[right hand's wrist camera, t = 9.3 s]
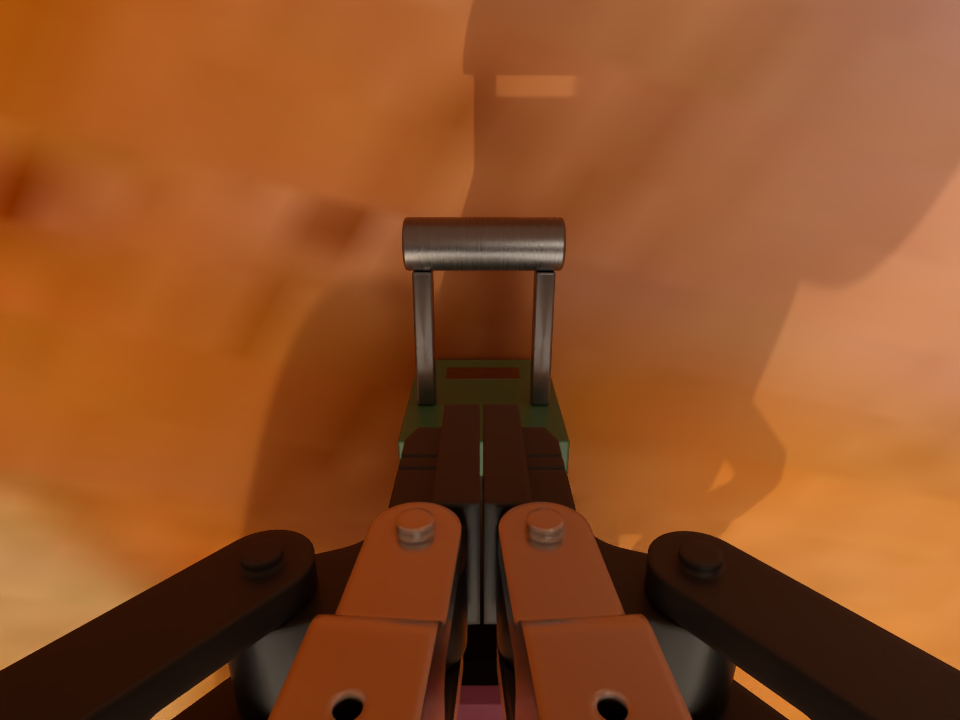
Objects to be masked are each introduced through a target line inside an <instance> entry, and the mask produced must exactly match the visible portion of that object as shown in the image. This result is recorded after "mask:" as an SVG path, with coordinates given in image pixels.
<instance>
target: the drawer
mask: <svg viewBox="0 0 960 720" xmlns="http://www.w3.org/2000/svg"><path fill="white" fill-rule="evenodd" d="M565 250H566V230H565V223H564V220H563V218H523V217H407V218H405V219H404V222H403V229H402V251H403V262H404V266H405V269H406V270H408V271H413V273H412V282H413V307H414V332H415V357H416V374H415V378H414V382H413V386H412V390H411V394H410V397H409V401H408V405H407V409H406V413H405V417H404V421H403V424H402V428H401V432H400V436H399V440H398V450H399V463H400V459H401V457H402V450H403V446H404V442H405V440H406V439H407V438H408V437H409V436H410V435H411V434H412V433H413V432H414V431H415V430H416V429H417V428H418V427H442V421H443V413H444V405H445V404H480V624H468V626H467V645H466V649H465V652H464V654H463V674H462V682H461V685H499V682H498V674H497V624H484V565H483V404H518V405H519V411H520V419H521V426H522V427H545V428H546V429H547V430H548V431H549V432H550V433H551V434H552V435H554V436H555V437H556V438H557V439H558V441H559V445H560V449H561V453H562V457H563V461H564V465H565V470H566V473H567V474H568V458H569V438H568V435H567V431H566V428H565V424H564V421H563V417H562V414H561V411H560V407H559V404H558V400H557V397H556V393H555V390H554V386H553V383H552V379H551V356H552V334H553V313H554V292H555V272H554V271H560V270H562V268H563V265H564V260H565ZM433 271H534V287H533V316H532V346H531V360H436V355H435V318H434V281H433Z"/></svg>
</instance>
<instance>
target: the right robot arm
mask: <svg viewBox="0 0 960 720" xmlns="http://www.w3.org/2000/svg"><path fill="white" fill-rule="evenodd" d="M483 565H484V624H497V674H498V682H499V691H500V699H501V707H502V716H503V720H789V719H787V718H786V717H784V716H783V715H782V714H780V713H779V712H778V711H776V710H775V709H773V708H772V707H771V706H769V705H768V704H767V703H765V702H764V701H762V700H761V699H760V698H758V697H757V696H756V695H754V694H753V693H751V692H750V691H749V690H747V689H746V688H745V687H743V686H742V685H740V684H739V683H738V682H736V681H735V680H734V679H733V678H734V673H735V668H736V666H738V667H739V668H741V669H742V670H743V671H745V672H746V673H748V674H749V675H750V676H752V677H753V678H755V679H756V680H758V681H759V682H760V683H762V684H763V685H765V686H766V687H767V688H769V689H770V690H772V691H773V692H775V693H776V694H777V695H779V696H780V697H782V698H783V699H784V700H786V701H787V702H789V703H790V704H791V705H793V706H794V707H796V708H797V709H799V710H800V711H801V712H803V713H804V714H805V715H807V716H808V717H809V718H810V719H811V720H960V671H959V670H957V669H956V668H954V667H952V666H950V665H948V664H946V663H945V662H943V661H941V660H939V659H937V658H936V657H934V656H932V655H930V654H928V653H926V652H925V651H923V650H921V649H919V648H917V647H916V646H914V645H912V644H910V643H908V642H907V641H905V640H903V639H901V638H899V637H897V636H896V635H894V634H892V633H890V632H888V631H887V630H885V629H883V628H881V627H879V626H878V625H876V624H874V623H872V622H870V621H868V620H867V619H865V618H863V617H861V616H859V615H858V614H856V613H854V612H852V611H850V610H849V609H847V608H845V607H843V606H841V605H839V604H838V603H836V602H834V601H832V600H830V599H829V598H827V597H825V596H823V595H821V594H820V593H818V592H816V591H814V590H812V589H810V588H809V587H807V586H805V585H803V584H801V583H800V582H798V581H796V580H794V579H792V578H790V577H789V576H787V575H785V574H783V573H781V572H780V571H778V570H776V569H774V568H772V567H771V566H769V565H767V564H765V563H763V562H761V561H760V560H758V559H756V558H754V557H752V556H751V555H749V554H747V553H745V552H743V551H742V550H740V549H738V548H736V547H734V546H732V545H731V544H729V543H727V542H725V541H723V540H721V539H719V538H716V537H713V536H711V535H707V534H703V533H698V532H691V531H676V532H670V533H667V534H663V535H661V536H659V537H658V538H656V539H655V540H654V541H653V542H652V543H651V545H650V547H649V549H648V554H646V553H642V552H637V551H633V550H628V549H624V548H620V547H616V546H613V545H611V544H608V543H606V542H604V541H601V540H599V539H598V538H596V537H595V536H594V535H593V532H592V530H591V527H590V525H589V523H588V522H587V520H586V519H585V518H584V517H583V516H582V515H581V514H579V513H578V512H576V509H575V505H574V501H573V497H572V493H571V489H570V485H569V481H568V477H567V473H566V470H565V465H564V461H563V457H562V453H561V449H560V445H559V441H558V439H557V438H556V437H555V436H554V435H552V434H551V433H550V432H549V431H548V430H547V429H546V428H545V427H522V426H521V419H520V411H519V405H518V404H483ZM468 624H480V404H445V405H444V413H443V421H442V427H418V428H417V429H416V430H415V431H414V432H413V433H412V434H411V435H410V436H409V437H408V438H407V439H406V440H405V442H404V446H403V450H402V457H401V459H400V463H399V470H398V471H397V475H396V479H395V484H394V488H393V492H392V496H391V500H390V504H389V509H387V510H385V511H384V512H382V513H381V514H379V515H378V516H377V517H376V518H375V519H374V520H373V522H372V523H371V525H370V527H369V530H368V532H367V535H366V537H365V540H363V541H361V542H359V543H357V544H354V545H352V546H349V547H345V548H342V549H337V550H333V551H328V552H324V553H319V554H315V552H314V547H313V545H312V543H311V542H310V540H309V539H308V538H306V537H305V536H303V535H301V534H299V533H297V532H293V531H288V530H268V531H262V532H258V533H254V534H251V535H248V536H245V537H243V538H241V539H239V540H237V541H235V542H233V543H231V544H229V545H228V546H226V547H224V548H222V549H220V550H218V551H217V552H215V553H213V554H211V555H209V556H208V557H206V558H204V559H202V560H200V561H199V562H197V563H195V564H193V565H191V566H189V567H188V568H186V569H184V570H182V571H180V572H179V573H177V574H175V575H173V576H171V577H170V578H168V579H166V580H164V581H162V582H160V583H159V584H157V585H155V586H153V587H151V588H150V589H148V590H146V591H144V592H142V593H141V594H139V595H137V596H135V597H133V598H131V599H130V600H128V601H126V602H124V603H122V604H121V605H119V606H117V607H115V608H113V609H112V610H110V611H108V612H106V613H104V614H102V615H101V616H99V617H97V618H95V619H93V620H92V621H90V622H88V623H86V624H84V625H82V626H81V627H79V628H77V629H75V630H73V631H72V632H70V633H68V634H66V635H64V636H63V637H61V638H59V639H57V640H55V641H53V642H52V643H50V644H48V645H46V646H44V647H43V648H41V649H39V650H37V651H35V652H34V653H32V654H30V655H28V656H26V657H24V658H23V659H21V660H19V661H17V662H15V663H14V664H12V665H10V666H8V667H6V668H5V669H3V670H1V671H0V720H150V719H151V718H152V717H153V716H154V715H155V714H156V713H158V712H159V711H160V710H161V709H163V708H164V707H166V706H167V705H169V704H170V703H171V702H173V701H174V700H176V699H177V698H178V697H180V696H181V695H183V694H184V693H186V692H187V691H188V690H190V689H191V688H193V687H194V686H195V685H197V684H198V683H200V682H201V681H202V680H204V679H205V678H207V677H208V676H210V675H211V674H212V673H214V672H215V671H217V670H218V669H219V668H221V667H222V666H224V665H225V664H227V663H228V665H229V670H230V675H231V677H229V678H228V679H226V680H225V681H224V682H222V683H221V684H220V685H218V686H217V687H215V688H214V689H213V690H211V691H210V692H209V693H207V694H206V695H204V696H203V697H202V698H200V699H199V700H198V701H196V702H195V703H193V704H192V705H191V706H189V707H188V708H187V709H185V710H184V711H182V712H181V713H180V714H178V715H177V716H176V717H174V718H173V719H171V720H457V716H458V707H459V699H460V691H461V682H462V674H463V654H464V652H465V649H466V645H467V626H468Z"/></svg>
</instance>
